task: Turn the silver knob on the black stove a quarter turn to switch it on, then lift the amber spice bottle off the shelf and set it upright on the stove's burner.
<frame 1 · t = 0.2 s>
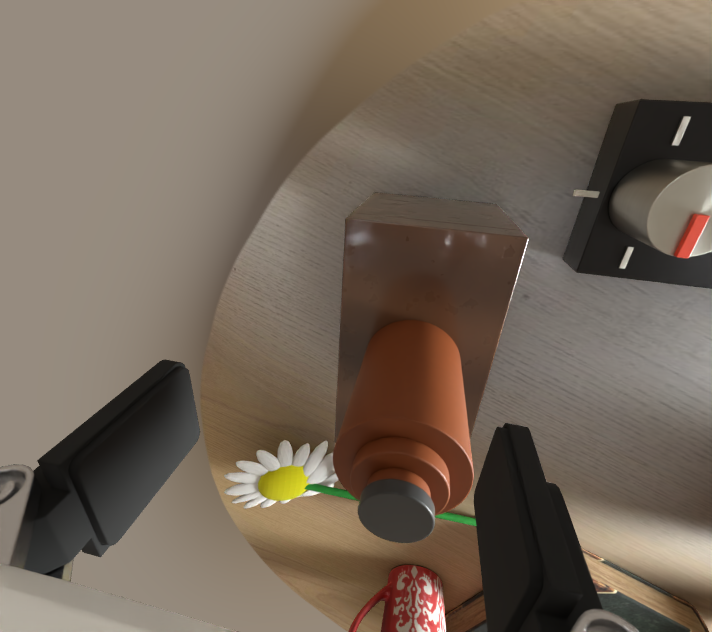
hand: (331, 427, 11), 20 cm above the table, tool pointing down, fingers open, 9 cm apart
bottle: (411, 361, 21), point 10 cm above the table, touching shelf
stove knob: (674, 206, 19), point 5 cm above the table, hinge at 0.0°
mug: (404, 572, 48), on the table
shelf: (418, 296, 30), on the table
decorative flower: (369, 478, 41), on the table
book: (551, 610, 45), on the table
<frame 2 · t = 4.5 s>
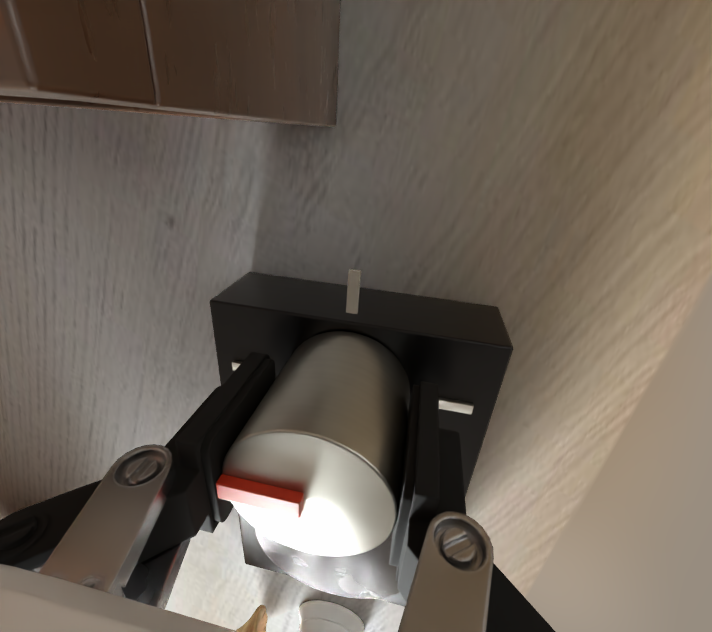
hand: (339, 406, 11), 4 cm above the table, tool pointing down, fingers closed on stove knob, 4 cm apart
stove knob: (328, 435, 10), point 5 cm above the table, hinge at -0.2°, touching gripper
stove: (354, 435, 18), on the table
jug: (126, 570, 30), on the table
burner: (336, 543, 17), resting on stove
chalice: (331, 616, 27), on the table
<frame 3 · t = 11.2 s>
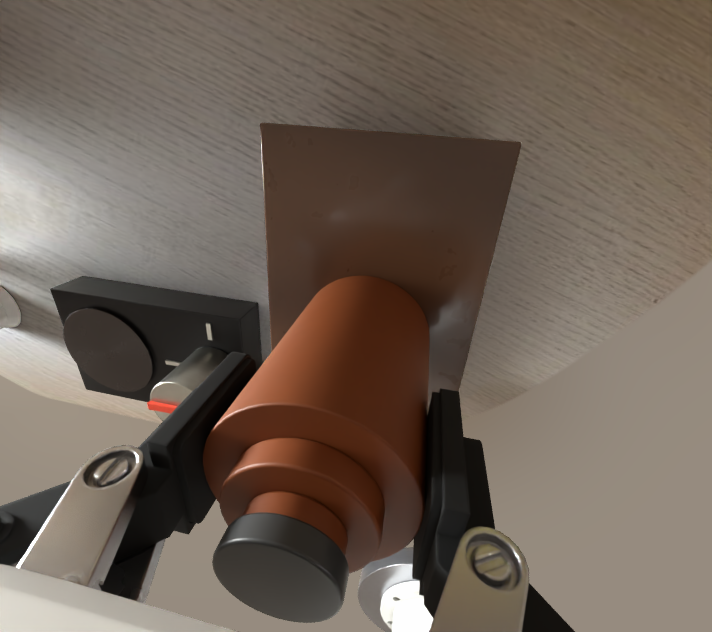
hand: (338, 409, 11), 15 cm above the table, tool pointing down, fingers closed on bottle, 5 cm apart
bottle: (364, 335, 16), point 10 cm above the table, touching gripper, shelf
stove knob: (197, 389, 26), point 5 cm above the table, hinge at 90.9°
stove: (177, 340, 31), on the table
shelf: (390, 264, 24), on the table
burner: (110, 350, 29), resting on stove
when the fingers open (8 cm above the table, at t = 20.5 s): bottle stays where it is, resting on burner.
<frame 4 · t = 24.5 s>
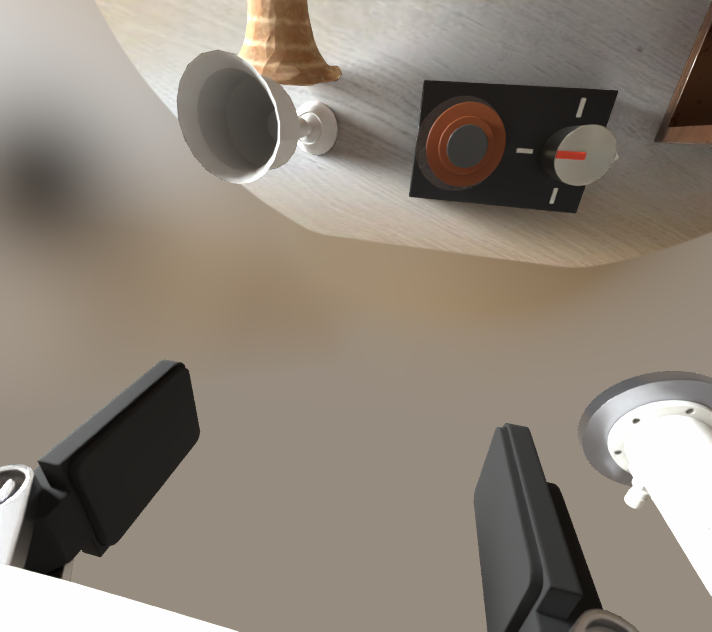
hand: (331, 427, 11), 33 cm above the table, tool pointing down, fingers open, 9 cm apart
bottle: (458, 144, 33), point 3 cm above the table, touching burner
stove knob: (575, 155, 30), point 5 cm above the table, hinge at 90.9°
stove: (497, 148, 35), on the table
burner: (458, 145, 33), resting on stove
chalice: (315, 128, 38), on the table
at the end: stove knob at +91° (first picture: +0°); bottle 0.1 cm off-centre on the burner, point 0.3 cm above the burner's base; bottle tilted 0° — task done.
